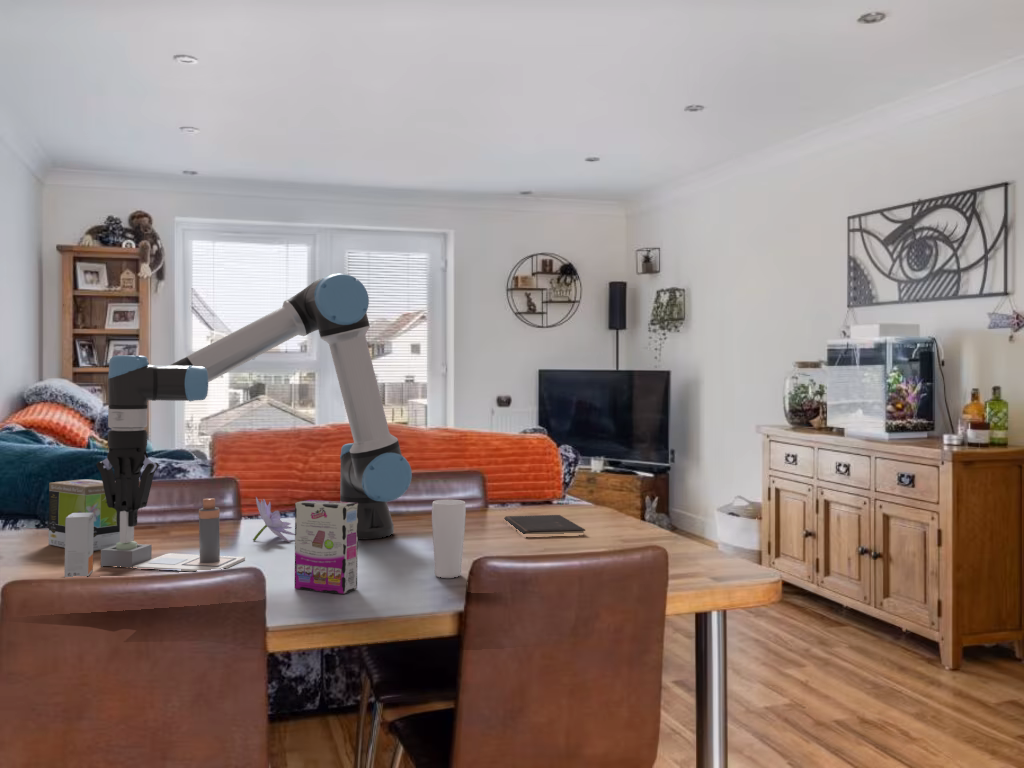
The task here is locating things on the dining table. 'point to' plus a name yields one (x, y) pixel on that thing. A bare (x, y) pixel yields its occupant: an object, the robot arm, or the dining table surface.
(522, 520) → the hardcover book
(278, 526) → the water lily
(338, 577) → the candy bar box
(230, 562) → the board
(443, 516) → the drinking glass
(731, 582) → the dining table surface
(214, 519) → the grey and orange bottle
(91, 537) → the skincare box
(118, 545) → the button
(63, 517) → the tea box
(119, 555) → the button housing
